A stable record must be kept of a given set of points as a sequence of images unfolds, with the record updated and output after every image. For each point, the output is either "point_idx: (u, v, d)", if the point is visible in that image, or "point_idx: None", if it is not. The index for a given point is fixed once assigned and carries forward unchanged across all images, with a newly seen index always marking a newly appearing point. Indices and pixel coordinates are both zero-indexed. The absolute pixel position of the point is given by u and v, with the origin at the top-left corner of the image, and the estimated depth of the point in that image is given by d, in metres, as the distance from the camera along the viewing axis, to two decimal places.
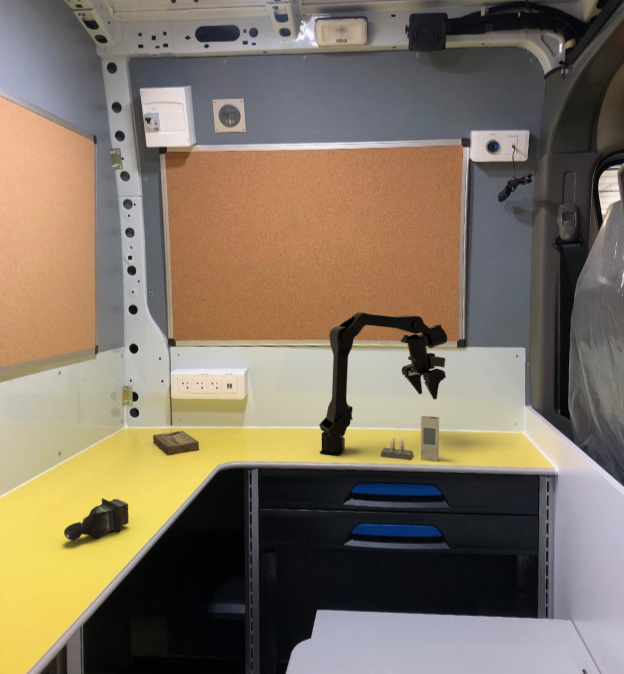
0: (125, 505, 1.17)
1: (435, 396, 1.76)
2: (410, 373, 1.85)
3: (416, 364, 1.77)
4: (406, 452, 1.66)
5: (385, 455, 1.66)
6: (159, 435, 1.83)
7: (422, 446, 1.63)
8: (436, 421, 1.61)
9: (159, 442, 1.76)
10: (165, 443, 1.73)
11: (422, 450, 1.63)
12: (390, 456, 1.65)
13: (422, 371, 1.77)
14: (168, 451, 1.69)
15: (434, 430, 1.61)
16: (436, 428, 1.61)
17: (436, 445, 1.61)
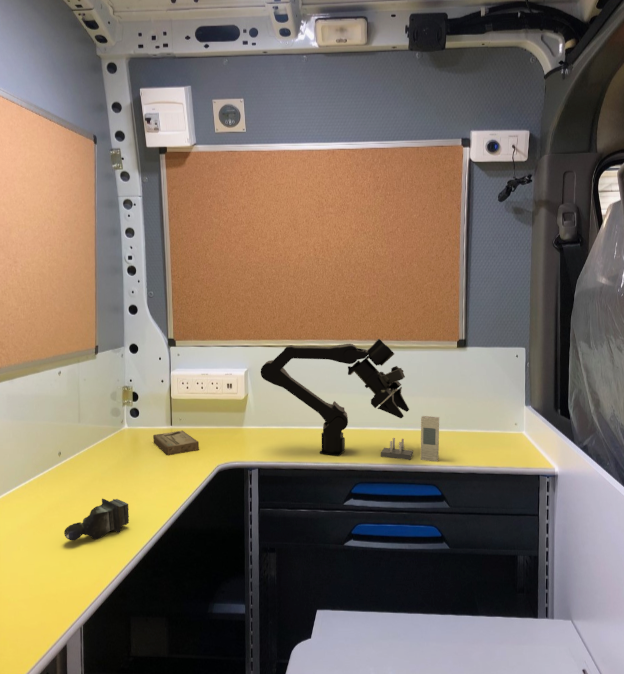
0: (125, 505, 1.17)
1: (399, 415, 1.60)
2: None
3: (371, 390, 1.67)
4: (406, 452, 1.66)
5: (385, 455, 1.66)
6: (159, 435, 1.84)
7: (422, 446, 1.63)
8: (436, 421, 1.61)
9: (159, 442, 1.76)
10: (165, 443, 1.73)
11: (422, 450, 1.63)
12: (390, 456, 1.65)
13: None
14: (168, 451, 1.69)
15: (434, 430, 1.61)
16: (436, 428, 1.61)
17: (436, 445, 1.61)
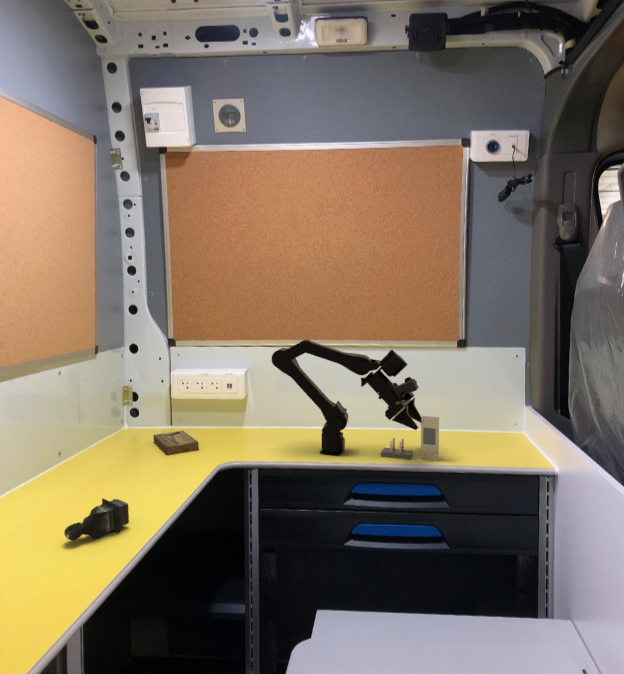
0: (125, 505, 1.17)
1: (414, 426, 1.59)
2: None
3: (385, 401, 1.66)
4: (406, 452, 1.66)
5: (385, 455, 1.66)
6: (159, 435, 1.84)
7: (422, 446, 1.63)
8: (436, 421, 1.61)
9: (159, 442, 1.76)
10: (165, 443, 1.73)
11: (422, 450, 1.63)
12: (390, 456, 1.65)
13: None
14: (167, 451, 1.69)
15: (434, 430, 1.61)
16: (436, 428, 1.61)
17: (436, 445, 1.61)
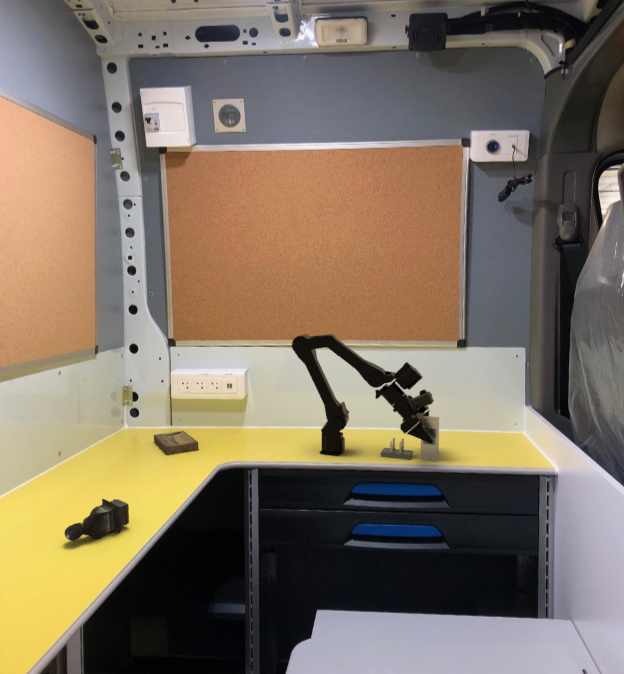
0: (125, 505, 1.17)
1: (429, 440, 1.58)
2: None
3: (399, 414, 1.64)
4: (406, 452, 1.66)
5: (385, 455, 1.66)
6: (160, 435, 1.84)
7: (422, 446, 1.63)
8: (436, 421, 1.61)
9: (159, 442, 1.76)
10: (165, 443, 1.73)
11: (422, 450, 1.63)
12: (390, 456, 1.65)
13: None
14: (167, 451, 1.69)
15: (435, 430, 1.61)
16: (436, 428, 1.61)
17: (436, 445, 1.61)
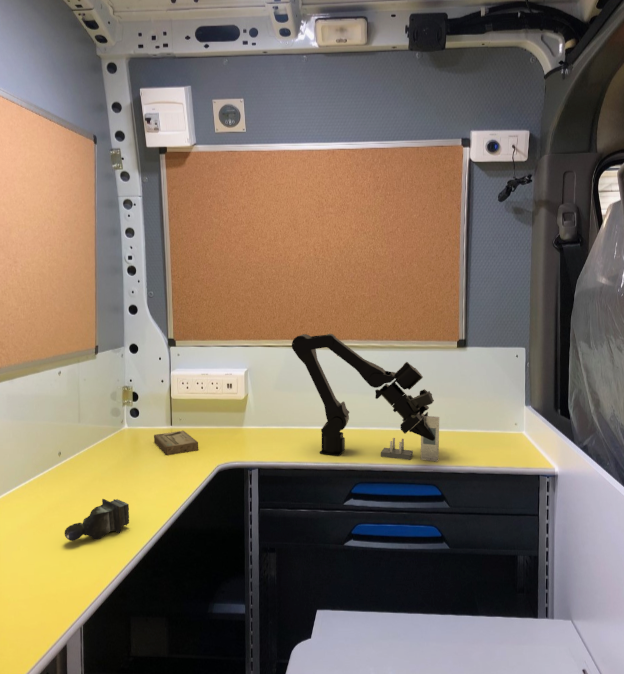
0: (126, 506, 1.17)
1: (431, 437, 1.61)
2: None
3: (399, 414, 1.64)
4: (406, 452, 1.66)
5: (385, 455, 1.66)
6: (160, 435, 1.84)
7: (422, 446, 1.63)
8: (436, 421, 1.61)
9: (159, 442, 1.76)
10: (164, 443, 1.73)
11: (422, 450, 1.63)
12: (390, 456, 1.65)
13: None
14: (167, 451, 1.69)
15: (435, 430, 1.61)
16: (436, 428, 1.61)
17: (436, 445, 1.61)
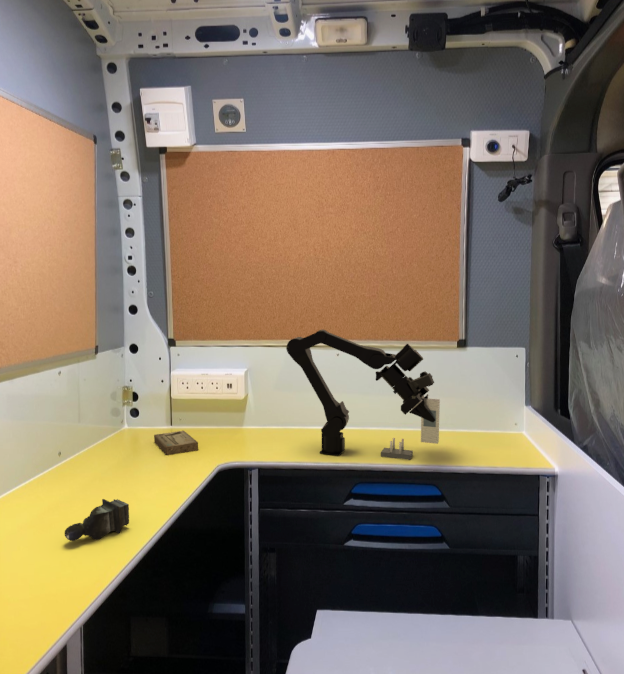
0: (126, 506, 1.17)
1: (431, 419, 1.60)
2: None
3: (400, 396, 1.64)
4: (406, 452, 1.66)
5: (385, 455, 1.66)
6: (160, 435, 1.84)
7: (422, 428, 1.62)
8: (437, 403, 1.60)
9: (159, 442, 1.76)
10: (164, 443, 1.73)
11: (422, 432, 1.62)
12: (390, 456, 1.65)
13: None
14: (167, 451, 1.69)
15: (435, 412, 1.61)
16: (436, 410, 1.60)
17: (436, 427, 1.61)
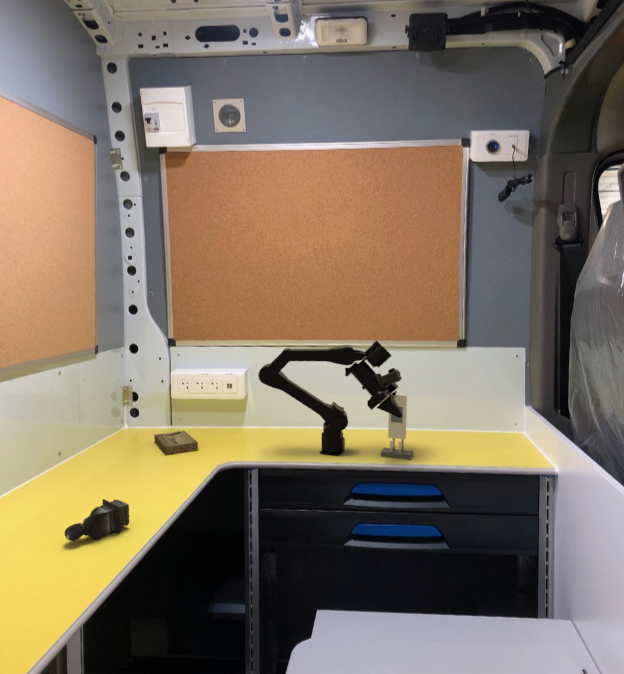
0: (126, 506, 1.17)
1: (398, 414, 1.64)
2: None
3: None
4: (406, 452, 1.66)
5: (385, 455, 1.66)
6: (160, 435, 1.84)
7: (390, 424, 1.66)
8: (403, 399, 1.64)
9: (159, 442, 1.76)
10: (164, 443, 1.73)
11: (390, 428, 1.66)
12: (390, 456, 1.65)
13: None
14: (166, 451, 1.69)
15: (402, 408, 1.64)
16: (403, 406, 1.64)
17: (403, 423, 1.64)
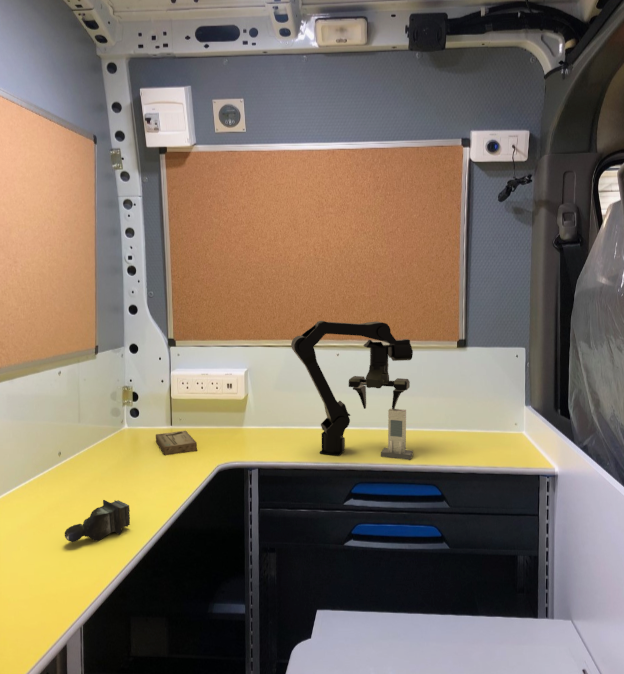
0: (126, 507, 1.16)
1: None
2: None
3: None
4: (406, 452, 1.66)
5: (385, 455, 1.66)
6: (162, 434, 1.84)
7: (389, 438, 1.66)
8: (403, 413, 1.64)
9: (159, 442, 1.76)
10: (163, 443, 1.73)
11: (389, 442, 1.66)
12: (390, 456, 1.65)
13: None
14: (165, 451, 1.69)
15: (401, 422, 1.64)
16: (403, 420, 1.64)
17: (403, 437, 1.65)
